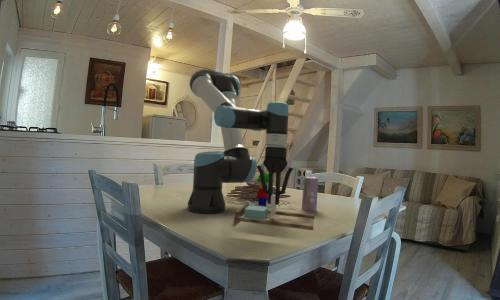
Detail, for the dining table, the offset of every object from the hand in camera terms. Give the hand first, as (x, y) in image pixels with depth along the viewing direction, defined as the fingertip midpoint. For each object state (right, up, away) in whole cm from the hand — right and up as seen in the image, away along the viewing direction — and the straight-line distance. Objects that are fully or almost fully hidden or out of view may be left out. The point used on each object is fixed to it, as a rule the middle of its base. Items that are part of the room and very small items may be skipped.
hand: (273, 213), depth 104 cm
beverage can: (+16, -4, +18) cm, 25 cm away
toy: (-2, -3, +28) cm, 28 cm away
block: (-6, -1, +2) cm, 6 cm away
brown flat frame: (+1, -3, 0) cm, 4 cm away
